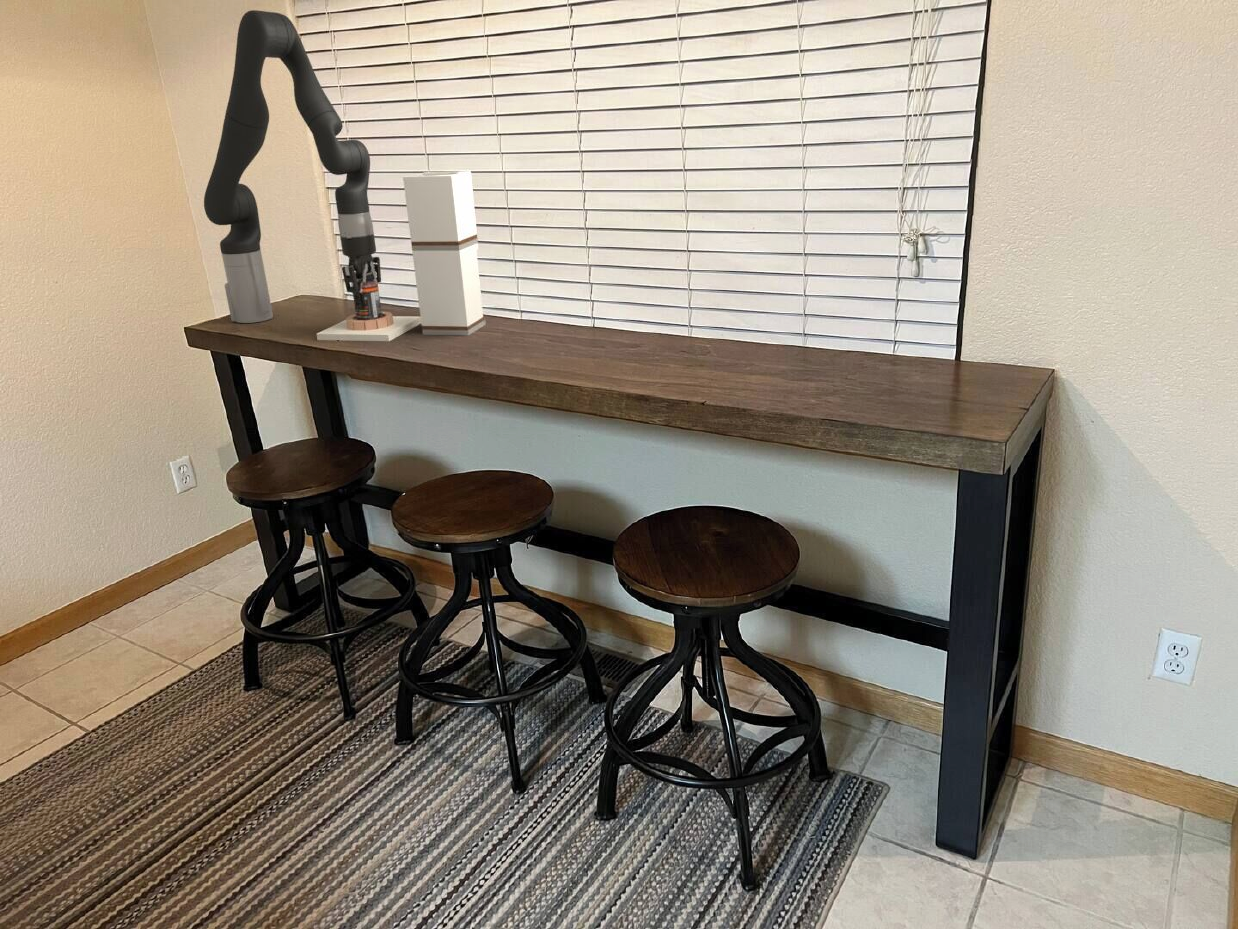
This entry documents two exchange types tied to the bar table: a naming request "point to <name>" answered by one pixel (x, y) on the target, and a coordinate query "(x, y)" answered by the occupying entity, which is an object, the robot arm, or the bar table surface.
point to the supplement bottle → (370, 300)
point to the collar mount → (370, 328)
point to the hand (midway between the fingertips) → (367, 305)
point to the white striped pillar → (445, 252)
